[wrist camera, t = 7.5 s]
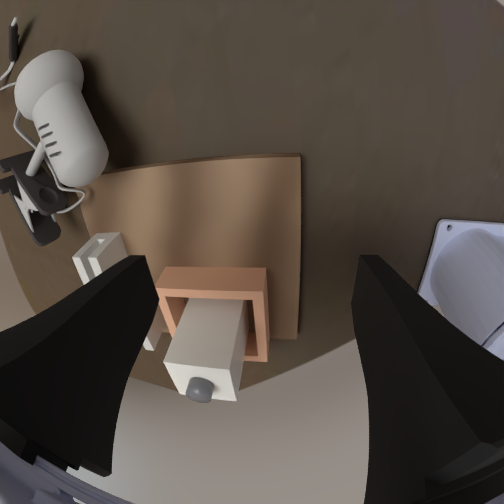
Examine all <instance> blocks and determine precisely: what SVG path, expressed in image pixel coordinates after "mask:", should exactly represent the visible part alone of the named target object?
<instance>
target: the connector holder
mask: <svg viewBox="0 0 504 504" xmlns="http://www.w3.org/2000/svg"><path fill="white" fill-rule="evenodd" d="M155 287H156V290H157V293H158V296H159V299H160V300H159V305H160V308H161V311H162V313H163V316H164V319H165V321H166V324H167V326H168V329H169V331H170V334H171V336H172V339H173V336H174V334H175V331H176V329H177V326H178V324H179V321H180V319H181V316H182V314H183V312H184V309H185V307H186V306H185V303H184V299H183V297H187V298H209V299H238V300H253V309H254V319H255V329H256V333H252V332H248V337H247V343H246V349H245V355H244V361H259V362H268V352H269V341H270V332H269V312H268V292H267V273H266V268H239V267H165V269H164V270H163V272H162V274H161V275H160V277H159V279H158V280H157V282H156V284H155Z"/></svg>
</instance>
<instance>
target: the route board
mask: <svg viewBox="0 0 504 504" xmlns="http://www.w3.org/2000/svg"><path fill="white" fill-rule="evenodd" d="M75 188H76V189H83V190H84V191H85V192H86V196H85V198H84V199H83V200H82V201H81V202H80V203H79V204H80V207H81V210H82V213H83V217H84V220H85V223H86V226H87V229H88V232H89V235H90V237H91V238H92V237H93V236H94V235H95V234H96V233H111V232H120V233H121V237H122V240H123V243H124V246H125V249H126V252H127V255H128V256H130V255H145V257H146V260H147V263H148V266H149V269H150V272H151V276H152V279H153V282H154V284H156V282H157V280H158V279H159V277H160V275H161V274H162V272H163V270H164V269H165V267H239V268H266V273H267V292H268V312H269V332H270V339H297V329H298V310H299V286H300V252H301V158H300V153H281V154H251V155H233V156H218V157H206V158H195V159H185V160H176V161H168V162H160V163H153V164H145V165H139V166H132V167H126V168H120V169H114V170H109V171H103V172H102V173H101V175H100V176H99V177H98V178H97V179H96V180H95V181H93V182H92V183H90V184H88V185H86V186H82V187H75ZM76 193H77V197H78V200H80V199H81V198H82V197H83V193H80V192H76ZM183 299H184V303H185V306H186V304H187V302H188V300H189V298H187V297H183ZM247 309H248V320H249V331H248V332H252V333H256V329H255V319H254V309H253V300H247ZM162 332H169V333H170V331H169V329H168V326H167V324H166V325H165V327H164V329H163V331H162Z"/></svg>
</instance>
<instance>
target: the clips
mask: <svg viewBox="0 0 504 504" xmlns="http://www.w3.org/2000/svg"><path fill="white" fill-rule="evenodd" d="M126 257H128V255H127V252H126V249H125V246H124V243H123V240H122V237H121V233H120V232H111V233H96V234H95V235H94V236H93V237H92V238H91V239H90V240H89V241H88V242H87V243H86V244H85V245H84V246H83V247H82V248H81V249H80V250H79V251H78V252H77V253H76V254H75V255H74V256H73V257H72V258H73V261H74V263H75V265H76V268H77V270H78V272H79V275H80V277H81V279H82V281H83V283H84V285H85V284H86V283H88V282H89V281H90V280H92V279H93V278H95V277H96V276H98V275H99V274H101V273H102V272H104V271H105V270H107V269H108V268H110V267H111V266H113V265H114V264H116V263H117V262H119V261H121V260H122V259H124V258H126ZM165 325H166V321H165V319H164V316H163V313H162V311H161V308H160V305H159V303H158V307H157V310H156V314H155V317H154V320H153V323H152V325H151V327H150V330H149V332H148V334H147V336H146V338H145V341H144V343H143V345H144V347H145V349H146V350H153V351H154V350H155V347H156V345H157V343H158V340H159V338H160V336H161V334H162V331H163V329H164V327H165Z"/></svg>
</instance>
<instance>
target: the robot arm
mask: <svg viewBox="0 0 504 504" xmlns="http://www.w3.org/2000/svg"><path fill="white" fill-rule="evenodd" d="M448 225H450V226H449V228H447V226H448ZM159 300H160V299H159V296H158V293H157V290H156V287H155V284H154V282H153V279H152V276H151V272H150V269H149V266H148V263H147V260H146V257H145V255H130V256H128V257H126V258H124V259H122V260H121V261H119V262H117V263H116V264H114V265H113V266H111V267H110V268H108V269H107V270H105V271H104V272H102V273H101V274H99V275H98V276H96V277H95V278H93V279H92V280H90V281H89V282H88V283H86V284H85V285H83V286H82V287H80V288H79V289H77V290H76V291H74V292H73V293H71V294H70V295H68V296H67V297H65V298H64V299H62V300H61V301H59V302H58V303H56V304H54V305H53V306H51V307H49V308H48V309H46V310H44V311H42V312H41V313H39V314H37V315H35V316H34V317H31V318H29V319H28V320H26V321H23V322H21V323H19V324H17V325H16V326H13V327H11V328H9V329H6V330H4V331H1V332H0V504H79V503H77V502H75V501H74V500H73V497H75V498H76V499H78V500H80V501H82V502H84V503H86V504H134V503H131V502H129V501H126V500H124V499H121V498H119V497H116V496H113V495H111V494H109V493H107V492H105V491H102V490H100V489H98V488H96V487H94V486H92V485H90V484H88V483H86V482H84V481H81V480H80V479H78V478H76V477H74V476H72V475H70V474H69V473H67V472H66V470H67V467H68V466H69V467H71V468H73V469H75V470H79V467H80V466H81V467H83V468H85V469H87V470H89V471H91V472H93V473H96V474H98V475H100V476H103V477H106V476H109V475H110V474H111V473H112V453H113V443H114V435H115V429H116V423H117V418H118V413H119V409H120V404H121V400H122V397H123V393H124V390H125V386H126V383H127V380H128V377H129V375H130V372H131V370H132V367H133V365H134V363H135V361H136V358H137V356H138V354H139V352H140V349H141V347H142V345H143V343H144V341H145V338H146V336H147V334H148V332H149V330H150V327H151V325H152V323H153V320H154V317H155V314H156V310H157V307H158V303H159ZM351 305H352V314H353V323H354V331H355V336H356V340H357V344H358V349H359V353H360V358H361V363H362V367H363V372H364V377H365V383H366V388H367V395H368V409H369V463H368V476H367V485H366V493H365V500H364V504H504V223H495V222H482V221H467V220H450V219H442V220H440V221H439V222H438V224H437V227H436V231H435V235H434V239H433V243H432V247H431V250H430V254H429V258H428V261H427V264H426V268H425V271H424V274H423V277H422V281H421V284H420V287H419V290H418V292H416V291H415V290H414V289H413V288H412V287H411V286H410V285H409V284H408V283H407V282H406V281H405V280H404V279H403V278H402V277H401V276H400V275H399V274H397V273H396V272H395V271H394V270H393V269H392V268H391V267H390V266H389V265H388V264H387V263H386V262H385V261H384V260H383V259H382V258H381V257H379V256H378V255H360V258H359V264H358V270H357V276H356V282H355V287H354V292H353V297H352V302H351ZM436 305H440V307H441V309H442V311H443V313H444V316H445V318H444V317H443V316H442V315H441V314H440V313H439V312H438V311H437V310H436V309H434V308H433V307H432V306H436Z"/></svg>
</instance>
